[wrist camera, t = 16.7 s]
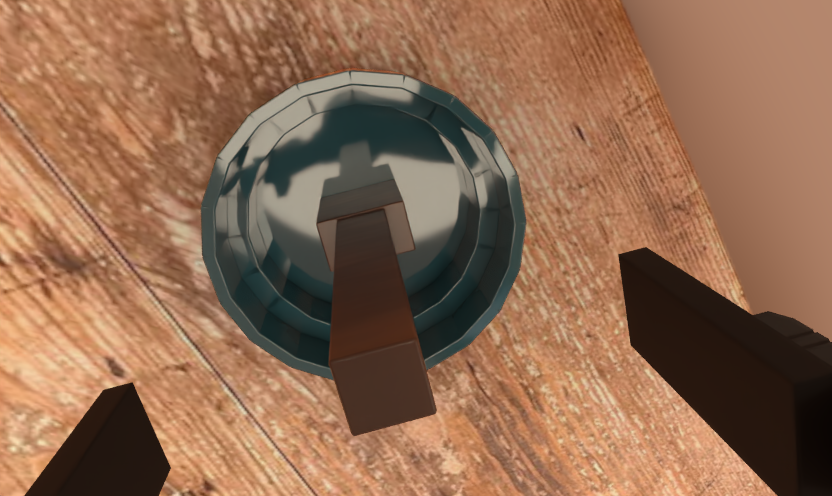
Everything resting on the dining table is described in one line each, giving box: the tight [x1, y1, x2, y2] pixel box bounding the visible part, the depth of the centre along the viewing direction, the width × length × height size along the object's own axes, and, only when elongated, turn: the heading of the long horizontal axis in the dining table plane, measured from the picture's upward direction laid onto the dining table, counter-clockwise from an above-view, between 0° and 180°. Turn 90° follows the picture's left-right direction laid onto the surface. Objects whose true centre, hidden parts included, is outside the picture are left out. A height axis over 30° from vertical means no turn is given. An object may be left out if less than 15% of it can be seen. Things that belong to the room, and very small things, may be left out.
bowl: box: [201, 68, 526, 380], centre depth 29 cm, size 14×14×6 cm
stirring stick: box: [316, 179, 437, 436], centre depth 23 cm, size 4×2×18 cm, turn 104°
